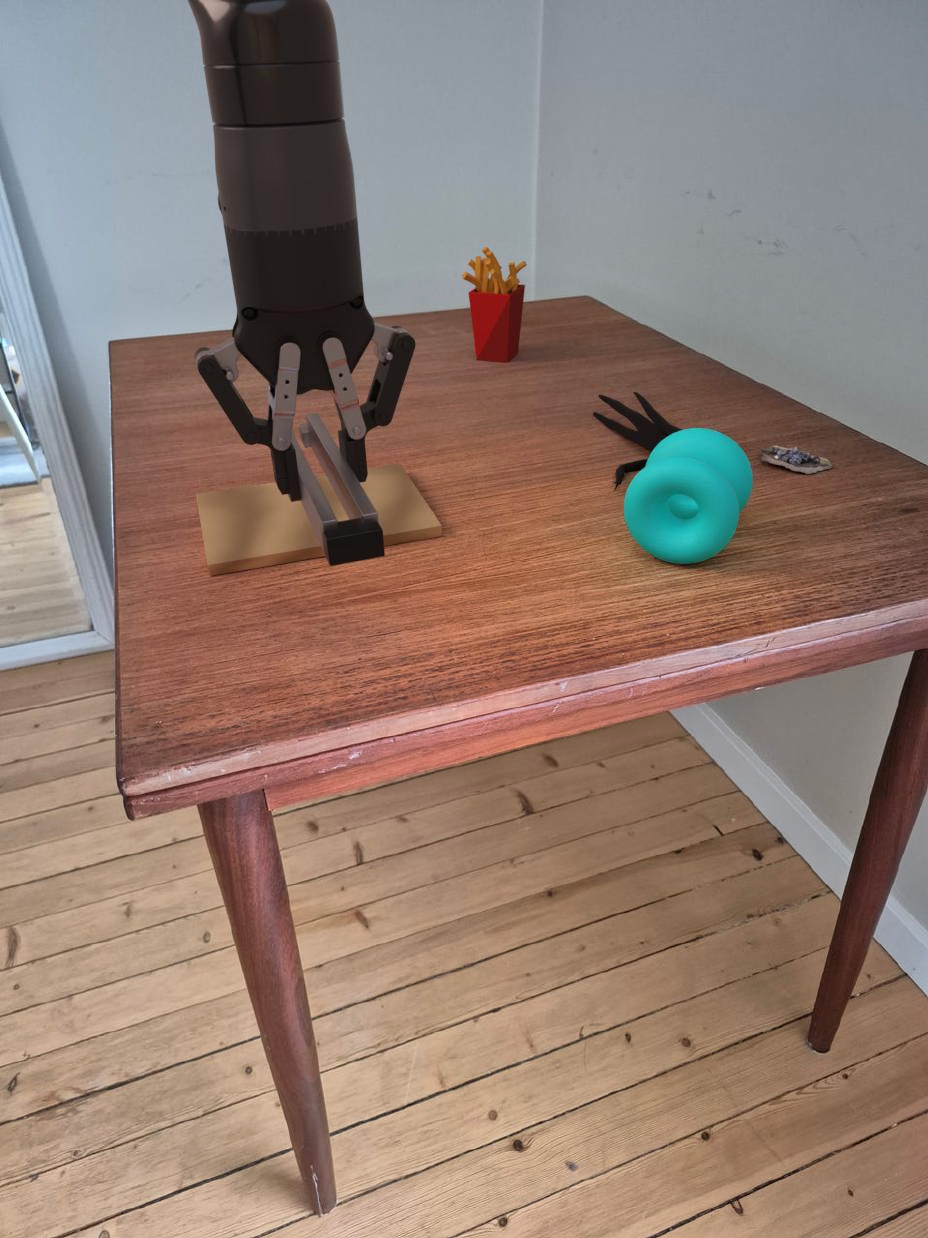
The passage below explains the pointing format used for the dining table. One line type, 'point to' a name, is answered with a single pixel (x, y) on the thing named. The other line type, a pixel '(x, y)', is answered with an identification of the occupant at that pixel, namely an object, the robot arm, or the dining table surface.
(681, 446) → the teal yo-yo
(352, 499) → the steel tongs
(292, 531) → the cutting board
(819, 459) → the crystal mineral rock
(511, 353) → the french fries
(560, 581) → the dining table surface
